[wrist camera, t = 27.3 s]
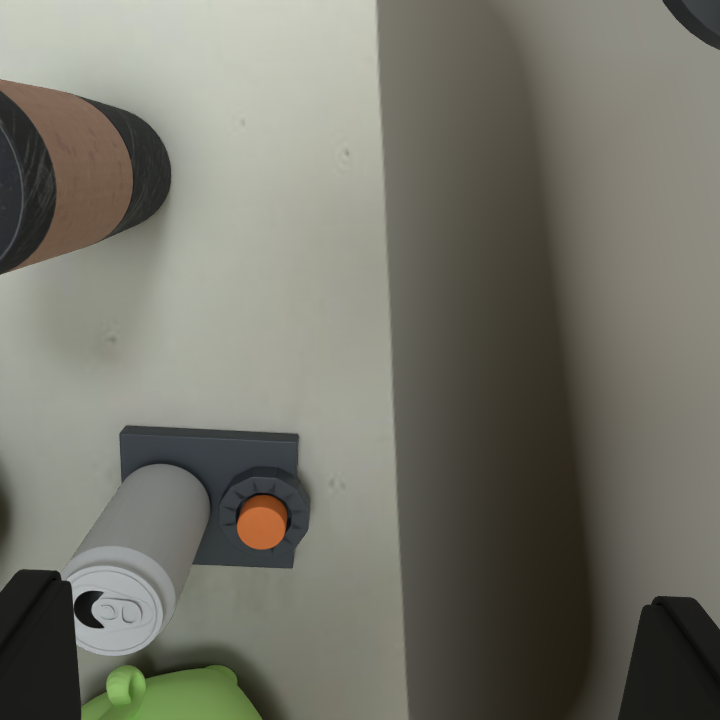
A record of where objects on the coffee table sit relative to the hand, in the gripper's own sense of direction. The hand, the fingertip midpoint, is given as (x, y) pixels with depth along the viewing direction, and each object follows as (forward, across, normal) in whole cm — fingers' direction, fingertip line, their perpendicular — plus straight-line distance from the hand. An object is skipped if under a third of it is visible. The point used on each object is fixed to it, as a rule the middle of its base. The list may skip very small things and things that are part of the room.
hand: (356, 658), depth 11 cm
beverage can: (+33, +12, +16) cm, 39 cm away
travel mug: (+34, +15, -6) cm, 38 cm away
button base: (+34, +9, +16) cm, 39 cm away
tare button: (+32, +5, +16) cm, 36 cm away
